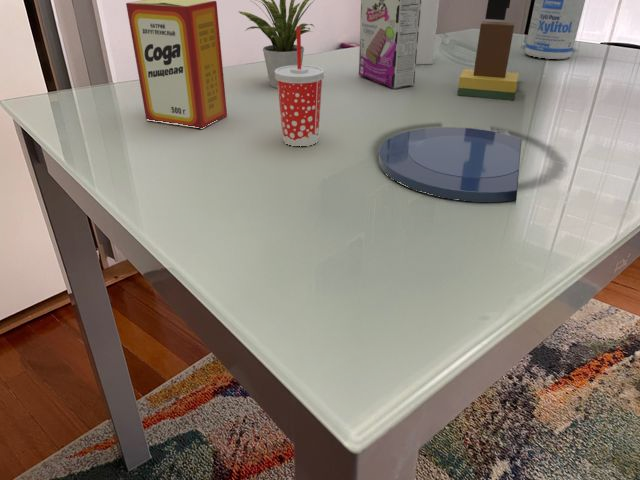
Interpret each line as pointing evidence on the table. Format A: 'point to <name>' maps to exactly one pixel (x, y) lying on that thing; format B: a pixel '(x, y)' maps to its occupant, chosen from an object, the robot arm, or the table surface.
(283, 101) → the beverage cup
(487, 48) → the sponge
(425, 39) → the milk
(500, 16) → the robot arm
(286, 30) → the house plant
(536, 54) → the supplement tub
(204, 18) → the baking soda box
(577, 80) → the table surface
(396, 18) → the candy bar box
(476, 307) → the table surface
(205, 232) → the table surface
